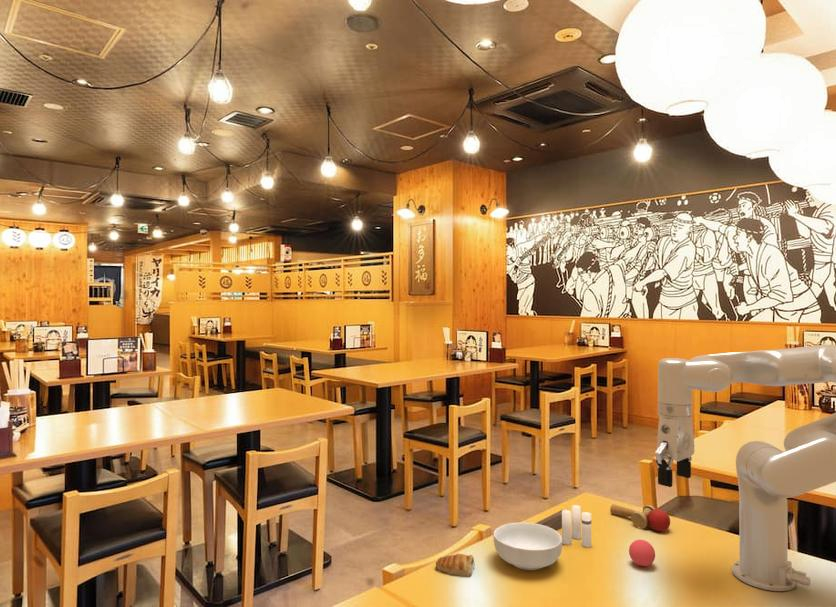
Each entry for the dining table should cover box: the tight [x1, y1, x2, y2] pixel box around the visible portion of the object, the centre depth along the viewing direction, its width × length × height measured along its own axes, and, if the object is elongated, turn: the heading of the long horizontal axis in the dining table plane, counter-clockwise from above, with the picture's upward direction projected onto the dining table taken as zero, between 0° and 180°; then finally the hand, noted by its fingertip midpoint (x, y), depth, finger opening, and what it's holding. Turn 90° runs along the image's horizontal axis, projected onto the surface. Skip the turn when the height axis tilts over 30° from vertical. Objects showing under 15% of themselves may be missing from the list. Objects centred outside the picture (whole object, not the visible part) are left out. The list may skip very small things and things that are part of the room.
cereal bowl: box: [493, 521, 563, 571], centre depth 136 cm, size 17×17×7 cm
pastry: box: [435, 553, 476, 577], centre depth 133 cm, size 9×7×4 cm
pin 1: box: [561, 509, 572, 546], centre depth 147 cm, size 2×2×8 cm
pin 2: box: [571, 504, 582, 540], centre depth 150 cm, size 2×2×8 cm
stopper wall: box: [535, 509, 563, 532], centre depth 153 cm, size 2×16×4 cm, turn 133°
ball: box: [628, 539, 656, 567], centre depth 134 cm, size 6×6×6 cm
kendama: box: [609, 503, 671, 533], centre depth 159 cm, size 8×6×18 cm
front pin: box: [581, 511, 592, 548], centre depth 145 cm, size 2×2×8 cm
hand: (674, 480), depth 131 cm, fingers open, 9 cm apart
